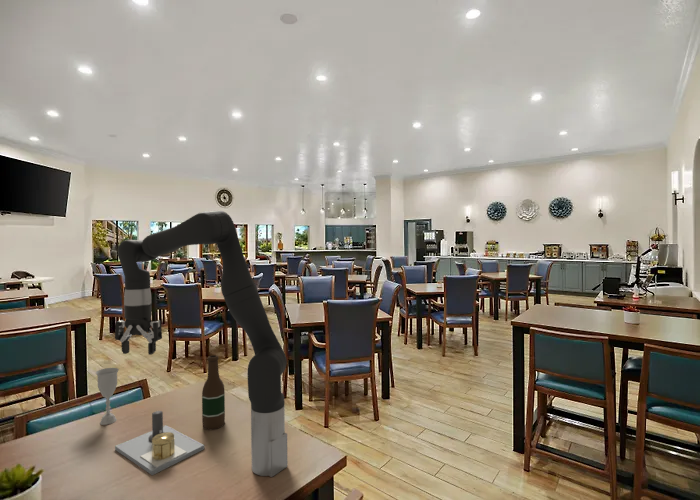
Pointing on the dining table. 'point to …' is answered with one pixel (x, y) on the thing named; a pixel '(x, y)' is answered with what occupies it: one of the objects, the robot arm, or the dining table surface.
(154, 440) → the cap
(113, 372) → the chalice
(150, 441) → the board
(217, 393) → the beer bottle
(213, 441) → the dining table surface
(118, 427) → the dining table surface
